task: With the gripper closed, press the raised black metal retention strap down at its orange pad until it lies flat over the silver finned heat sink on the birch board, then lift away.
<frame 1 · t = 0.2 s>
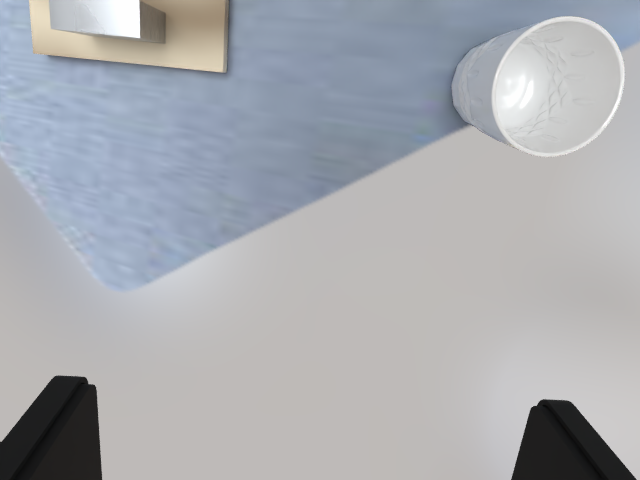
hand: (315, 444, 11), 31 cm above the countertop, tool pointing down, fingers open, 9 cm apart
white cup: (492, 85, 38), on the countertop
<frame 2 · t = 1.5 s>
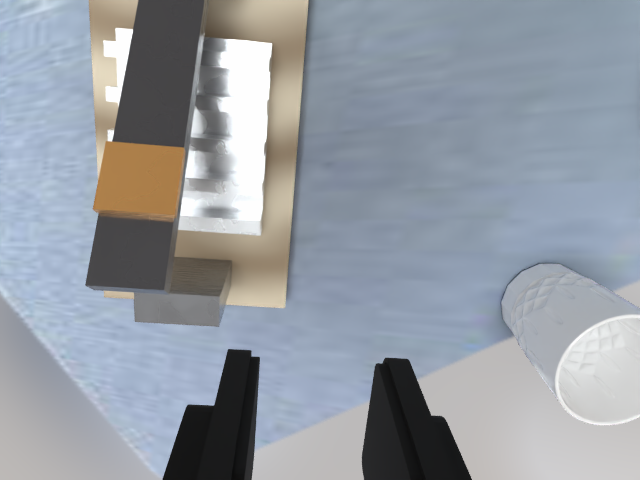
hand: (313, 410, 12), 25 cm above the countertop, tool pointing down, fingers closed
strap: (159, 90, 22), point 11 cm above the countertop, hinge at 35.0°
heat sink: (188, 134, 29), on the board, point 5 cm above the countertop
board: (203, 132, 34), on the countertop
white cup: (540, 299, 40), on the countertop
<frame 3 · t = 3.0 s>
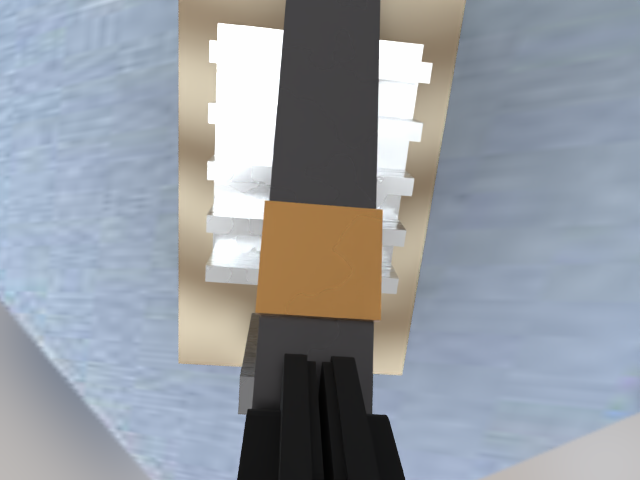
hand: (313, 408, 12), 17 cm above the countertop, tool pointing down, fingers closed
strap: (326, 118, 15), point 11 cm above the countertop, hinge at 34.6°, touching gripper
heat sink: (312, 165, 22), on the board, point 5 cm above the countertop
board: (308, 158, 27), on the countertop
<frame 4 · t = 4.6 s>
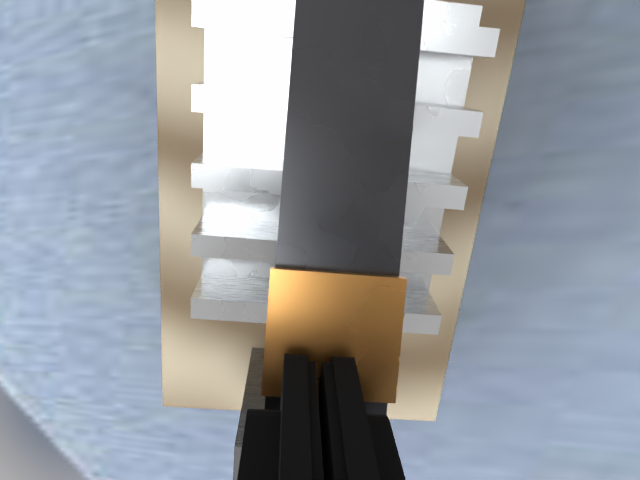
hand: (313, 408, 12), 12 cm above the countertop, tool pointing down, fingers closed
strap: (346, 145, 12), point 9 cm above the countertop, hinge at 16.7°, touching gripper
heat sink: (331, 168, 16), on the board, point 5 cm above the countertop
board: (324, 155, 21), on the countertop
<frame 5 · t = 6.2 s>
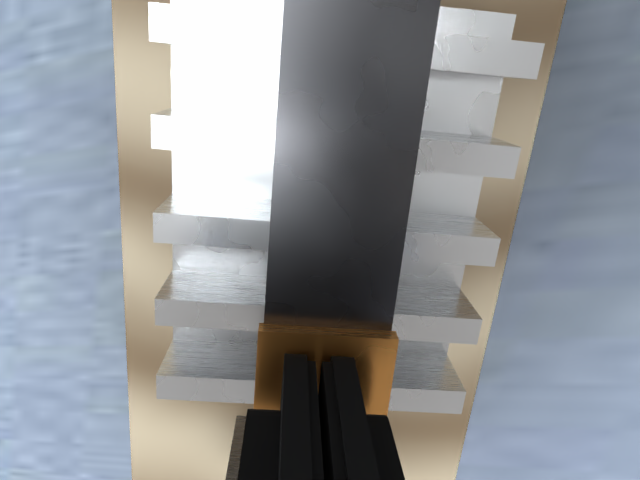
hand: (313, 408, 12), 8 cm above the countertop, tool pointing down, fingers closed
strap: (340, 196, 11), point 7 cm above the countertop, hinge at 1.9°, touching gripper
heat sink: (330, 216, 13), on the board, point 5 cm above the countertop
board: (320, 190, 18), on the countertop
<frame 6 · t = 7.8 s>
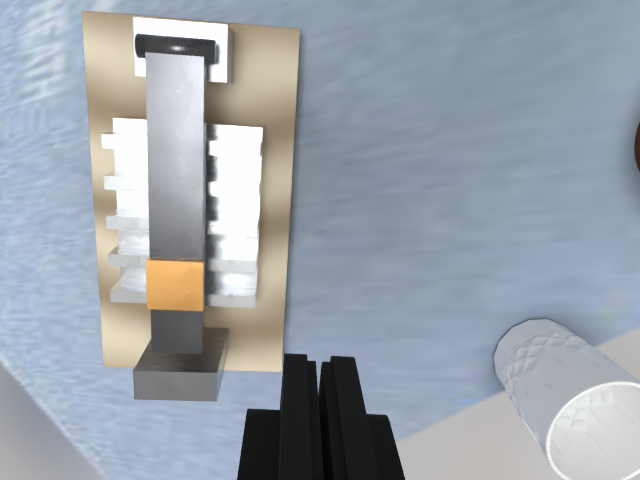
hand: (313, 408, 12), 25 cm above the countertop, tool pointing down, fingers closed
strap: (177, 206, 28), point 7 cm above the countertop, hinge at 1.9°
heat sink: (184, 216, 30), on the board, point 5 cm above the countertop
board: (198, 206, 35), on the countertop
white cup: (531, 353, 40), on the countertop
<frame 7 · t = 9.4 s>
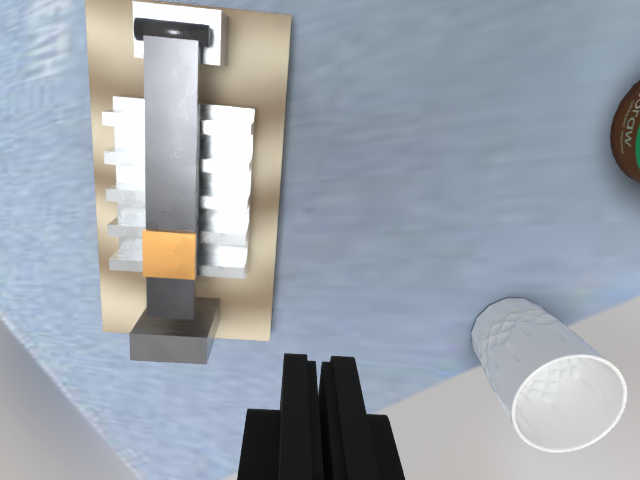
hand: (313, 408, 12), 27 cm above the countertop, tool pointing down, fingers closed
strap: (171, 181, 30), point 7 cm above the countertop, hinge at 1.9°
heat sink: (178, 191, 32), on the board, point 5 cm above the countertop
board: (193, 182, 37), on the countertop
food container: (633, 126, 37), on the countertop
white cup: (507, 330, 43), on the countertop
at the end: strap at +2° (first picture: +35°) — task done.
